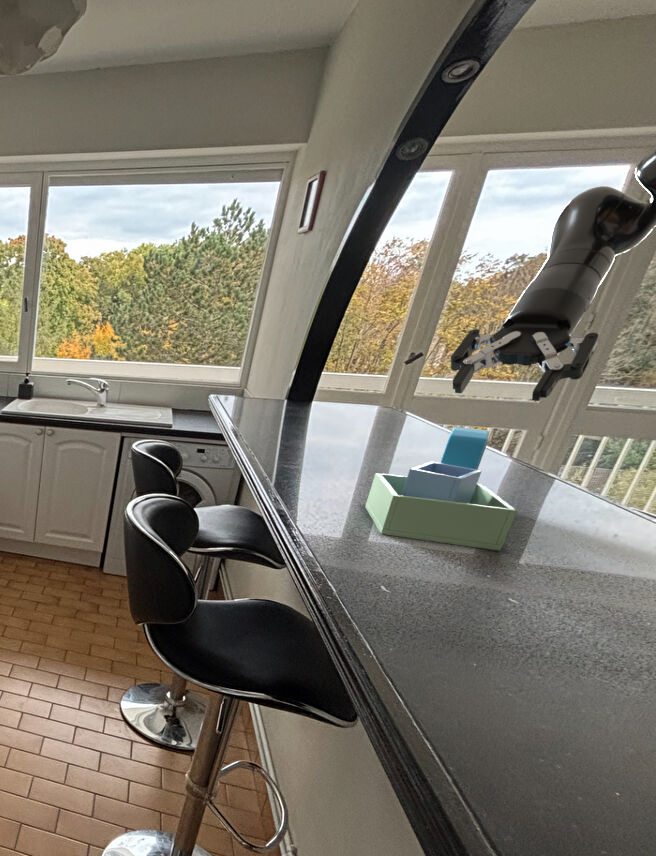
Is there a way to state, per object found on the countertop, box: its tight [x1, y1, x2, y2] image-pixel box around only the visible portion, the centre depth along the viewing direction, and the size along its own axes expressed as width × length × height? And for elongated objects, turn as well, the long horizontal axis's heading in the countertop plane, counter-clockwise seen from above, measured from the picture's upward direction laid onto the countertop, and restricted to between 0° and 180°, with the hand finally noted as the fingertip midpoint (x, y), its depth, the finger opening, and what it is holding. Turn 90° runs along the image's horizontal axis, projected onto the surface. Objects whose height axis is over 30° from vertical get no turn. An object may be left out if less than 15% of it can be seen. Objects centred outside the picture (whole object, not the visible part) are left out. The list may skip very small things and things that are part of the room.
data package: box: [439, 426, 490, 470], centre depth 95 cm, size 12×4×12 cm, turn 138°
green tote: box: [365, 472, 517, 552], centre depth 86 cm, size 13×13×6 cm
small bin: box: [401, 461, 482, 504], centre depth 86 cm, size 6×8×8 cm
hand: (495, 393), depth 83 cm, fingers open, 8 cm apart
